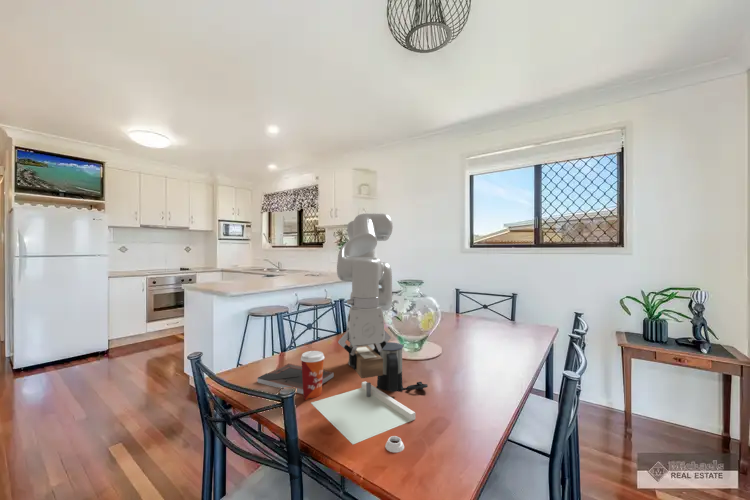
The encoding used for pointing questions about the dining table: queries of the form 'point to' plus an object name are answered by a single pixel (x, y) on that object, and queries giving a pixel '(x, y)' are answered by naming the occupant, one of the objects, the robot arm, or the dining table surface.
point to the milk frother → (394, 370)
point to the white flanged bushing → (394, 444)
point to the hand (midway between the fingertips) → (365, 365)
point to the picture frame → (289, 377)
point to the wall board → (363, 412)
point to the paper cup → (312, 373)
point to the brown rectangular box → (368, 362)
